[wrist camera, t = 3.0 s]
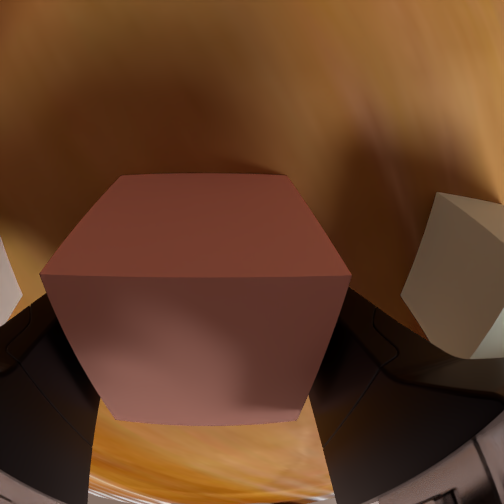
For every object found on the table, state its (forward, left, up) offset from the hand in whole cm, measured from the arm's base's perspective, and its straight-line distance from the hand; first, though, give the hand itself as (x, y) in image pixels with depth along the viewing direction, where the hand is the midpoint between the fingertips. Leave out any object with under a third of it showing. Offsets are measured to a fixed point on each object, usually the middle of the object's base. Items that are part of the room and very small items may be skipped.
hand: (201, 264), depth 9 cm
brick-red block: (0, 0, -1) cm, 1 cm away
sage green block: (-11, 0, -1) cm, 11 cm away
